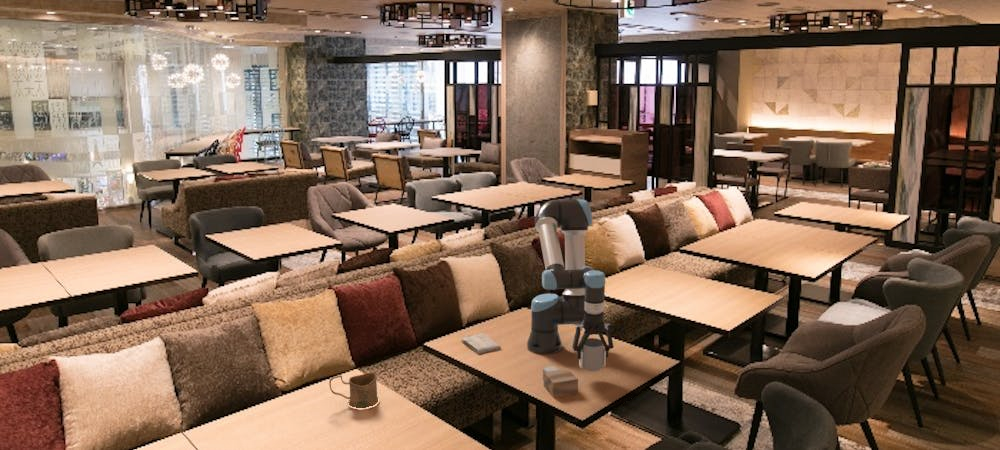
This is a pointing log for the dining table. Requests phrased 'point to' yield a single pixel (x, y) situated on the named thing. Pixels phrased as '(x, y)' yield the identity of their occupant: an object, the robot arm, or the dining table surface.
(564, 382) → the walnut block
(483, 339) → the washcloth
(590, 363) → the cup
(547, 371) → the grey block
